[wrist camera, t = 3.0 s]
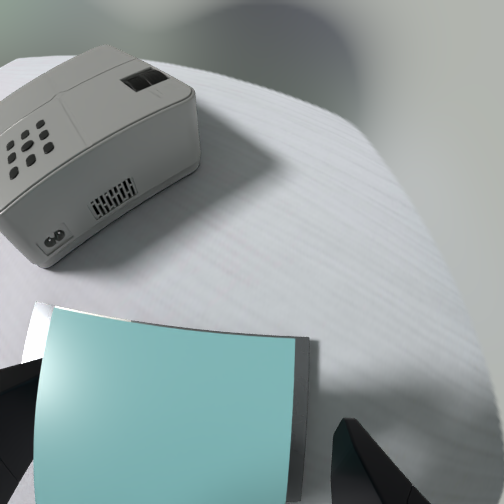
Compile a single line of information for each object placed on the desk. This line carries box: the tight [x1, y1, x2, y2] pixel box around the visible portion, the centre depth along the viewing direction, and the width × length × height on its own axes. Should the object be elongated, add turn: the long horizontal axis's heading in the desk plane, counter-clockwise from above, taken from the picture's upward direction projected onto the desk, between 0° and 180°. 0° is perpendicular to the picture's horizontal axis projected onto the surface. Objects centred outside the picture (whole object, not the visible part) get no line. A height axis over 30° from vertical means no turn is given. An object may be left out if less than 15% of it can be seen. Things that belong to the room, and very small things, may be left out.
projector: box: [0, 45, 201, 268], centre depth 21 cm, size 17×22×8 cm
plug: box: [34, 307, 295, 504], centre depth 9 cm, size 4×4×13 cm
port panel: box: [22, 301, 309, 502], centre depth 14 cm, size 18×10×1 cm, turn 86°
